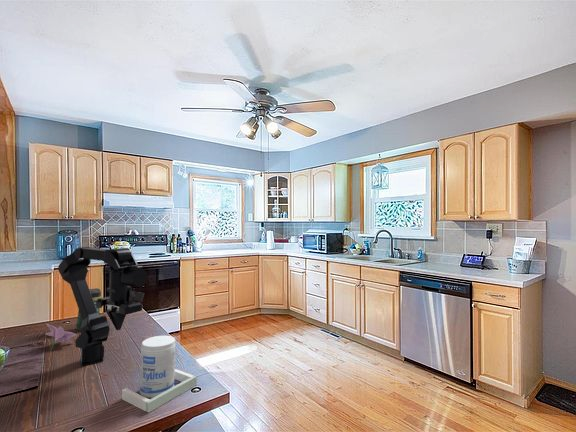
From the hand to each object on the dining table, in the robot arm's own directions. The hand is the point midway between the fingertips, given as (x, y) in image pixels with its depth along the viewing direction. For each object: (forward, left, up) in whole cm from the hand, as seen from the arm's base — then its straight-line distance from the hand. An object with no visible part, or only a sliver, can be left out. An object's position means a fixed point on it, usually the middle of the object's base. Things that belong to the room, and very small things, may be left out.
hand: (118, 329), depth 106 cm
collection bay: (+6, -25, -13) cm, 29 cm away
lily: (-14, +36, -13) cm, 41 cm away
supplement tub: (+6, -24, -13) cm, 28 cm away
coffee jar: (-1, +54, -13) cm, 56 cm away
